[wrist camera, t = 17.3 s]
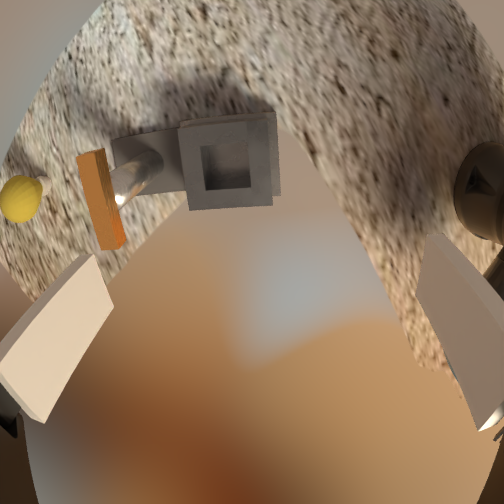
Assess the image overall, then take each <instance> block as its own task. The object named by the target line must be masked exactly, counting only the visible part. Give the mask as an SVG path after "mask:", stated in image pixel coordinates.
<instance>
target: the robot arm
mask: <svg viewBox="0 0 504 504" xmlns="http://www.w3.org/2000/svg"><path fill="white" fill-rule="evenodd" d="M454 201H455V208H456V212H457V215H458V218H459V220H460V222H461V223H462V224H463V226H464V227H465V228H466V229H468V230H469V231H470V232H471V233H472V234H473V235H475V236H477V237H479V238H481V239H485V240H491V241H493V242H495V243H498V244H501V245H503V248H502V249H501V251H500V252H499V254H498V255H497V256H496V258H495V259H494V261H493V262H492V263H491V265H490V266H489V267H488V269H487V270H486V272H485V273H484V274H483V276H482V275H481V273H480V272H479V271H478V270H477V269H476V268H475V267H474V265H473V264H472V263H471V262H470V261H469V260H468V259H467V258H466V257H465V256H464V255H463V253H462V252H461V251H460V250H459V249H458V248H457V247H456V246H455V245H454V244H453V243H452V242H451V241H450V240H449V239H448V238H447V237H446V236H445V235H444V234H443V233H442V234H427V235H426V242H425V248H424V254H423V260H422V265H421V270H420V275H419V280H418V285H417V290H416V294H415V295H416V297H417V299H418V301H419V303H420V304H421V306H422V308H423V310H424V312H425V314H426V315H427V317H428V319H429V321H430V323H431V325H432V327H433V329H434V331H435V333H436V335H437V337H438V339H439V341H440V343H441V345H442V347H443V350H444V354H445V357H446V360H447V362H448V364H449V367H450V369H451V371H452V373H453V375H454V376H455V378H456V380H457V381H458V383H459V384H460V387H461V389H462V391H463V394H464V396H465V399H466V401H467V404H468V406H469V409H470V411H471V414H472V416H473V419H474V422H475V425H476V427H477V430H478V431H481V430H483V429H486V428H489V427H491V426H493V425H496V424H497V423H498V422H499V421H500V420H501V419H502V418H503V416H504V145H502V144H499V143H496V142H486V143H483V144H481V145H479V146H477V147H476V148H474V149H473V150H472V151H471V152H470V153H469V155H468V156H467V157H466V159H465V160H464V162H463V164H462V166H461V168H460V170H459V173H458V176H457V179H456V184H455V192H454ZM113 308H114V306H113V303H112V301H111V298H110V296H109V294H108V291H107V289H106V286H105V283H104V281H103V278H102V276H101V273H100V270H99V268H98V265H97V262H96V259H95V256H94V254H84V255H80V256H79V257H78V258H77V259H76V260H75V261H74V262H73V263H72V264H71V265H70V266H69V267H68V268H67V269H66V270H65V271H64V272H63V273H62V274H61V275H60V276H59V277H58V278H57V279H56V280H55V281H54V282H53V283H52V284H51V285H50V286H49V287H48V288H47V289H46V290H45V291H44V292H43V293H42V295H41V296H40V297H39V298H38V299H37V300H36V301H35V302H34V303H33V305H32V306H31V307H30V308H29V309H28V310H27V311H26V312H25V314H24V315H23V316H22V317H21V318H20V319H19V321H18V322H17V323H16V324H15V325H14V327H13V328H12V329H11V330H10V331H9V332H8V334H7V335H6V336H5V337H4V339H3V340H2V341H1V342H0V504H39V503H38V499H37V496H36V491H35V488H34V483H33V479H32V474H31V469H30V464H29V458H28V452H27V446H26V438H25V430H24V421H23V417H22V415H20V413H19V410H20V408H22V409H23V410H24V411H25V412H26V413H27V414H28V415H29V416H30V418H33V419H35V420H37V421H39V422H42V423H45V421H46V419H47V418H48V416H49V414H50V412H51V410H52V408H53V406H54V405H55V403H56V401H57V399H58V397H59V395H60V394H61V392H62V390H63V388H64V386H65V385H66V383H67V381H68V380H69V378H70V376H71V374H72V373H73V371H74V369H75V368H76V366H77V364H78V362H79V361H80V359H81V358H82V356H83V354H84V353H85V351H86V350H87V348H88V346H89V345H90V343H91V342H92V340H93V338H94V337H95V335H96V333H97V332H98V330H99V329H100V327H101V326H102V324H103V323H104V321H105V319H106V318H107V317H108V315H109V313H110V312H111V311H112V309H113ZM502 434H503V436H502V439H501V441H500V446H499V449H498V452H497V455H496V458H495V461H494V463H493V466H492V469H491V472H490V474H489V477H488V479H487V482H486V484H485V487H484V489H483V491H482V493H481V495H480V498H479V500H478V502H477V504H504V427H503V428H502V429H501V430H500V431H499V432H498V433H497V434H496V436H495V438H494V439H493V440H494V441H496V440H497V439H498V438H499V437H500V436H501V435H502Z"/></svg>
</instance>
